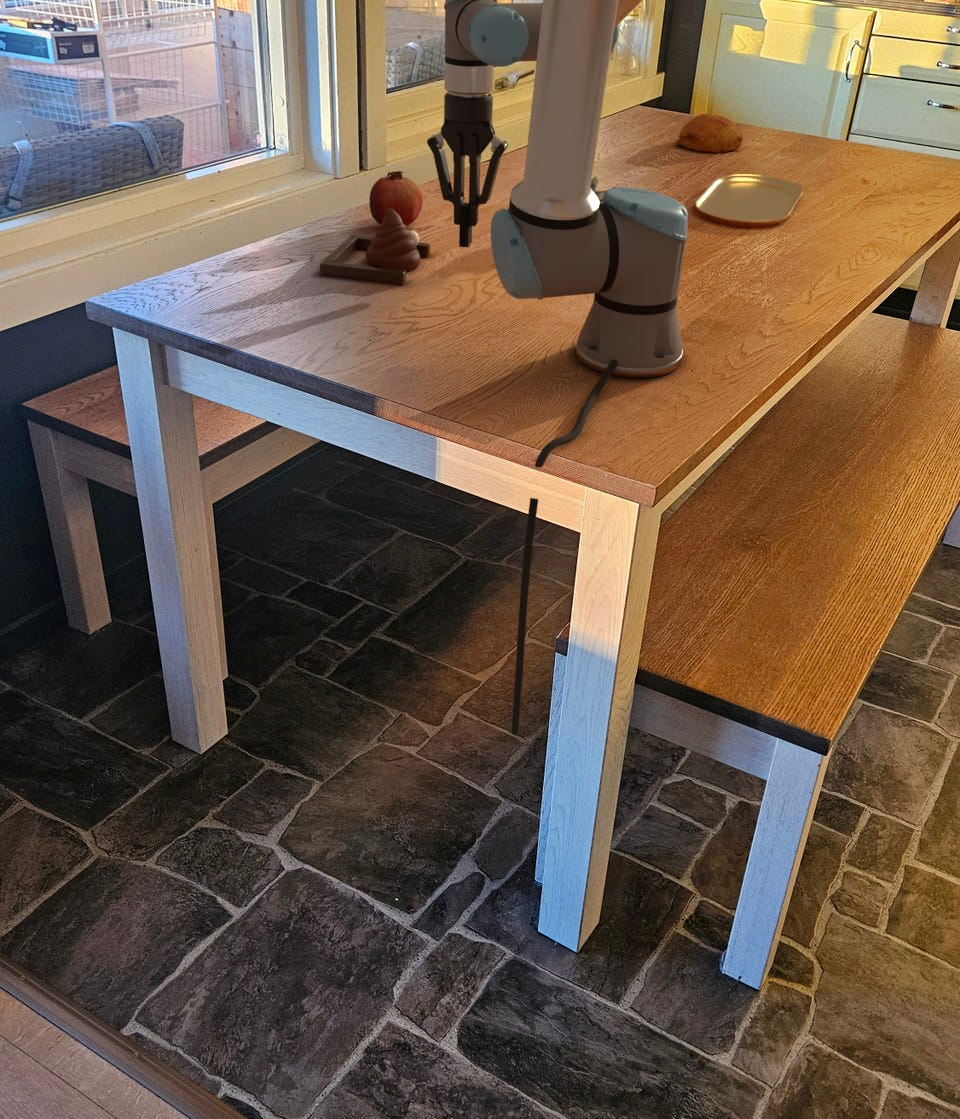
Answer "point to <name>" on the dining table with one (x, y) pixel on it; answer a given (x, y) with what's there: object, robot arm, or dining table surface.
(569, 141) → the robot arm
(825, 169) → the dining table surface
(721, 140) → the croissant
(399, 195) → the fruit
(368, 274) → the dark brown u-shaped frame
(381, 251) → the poop emoji
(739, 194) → the serving platter
